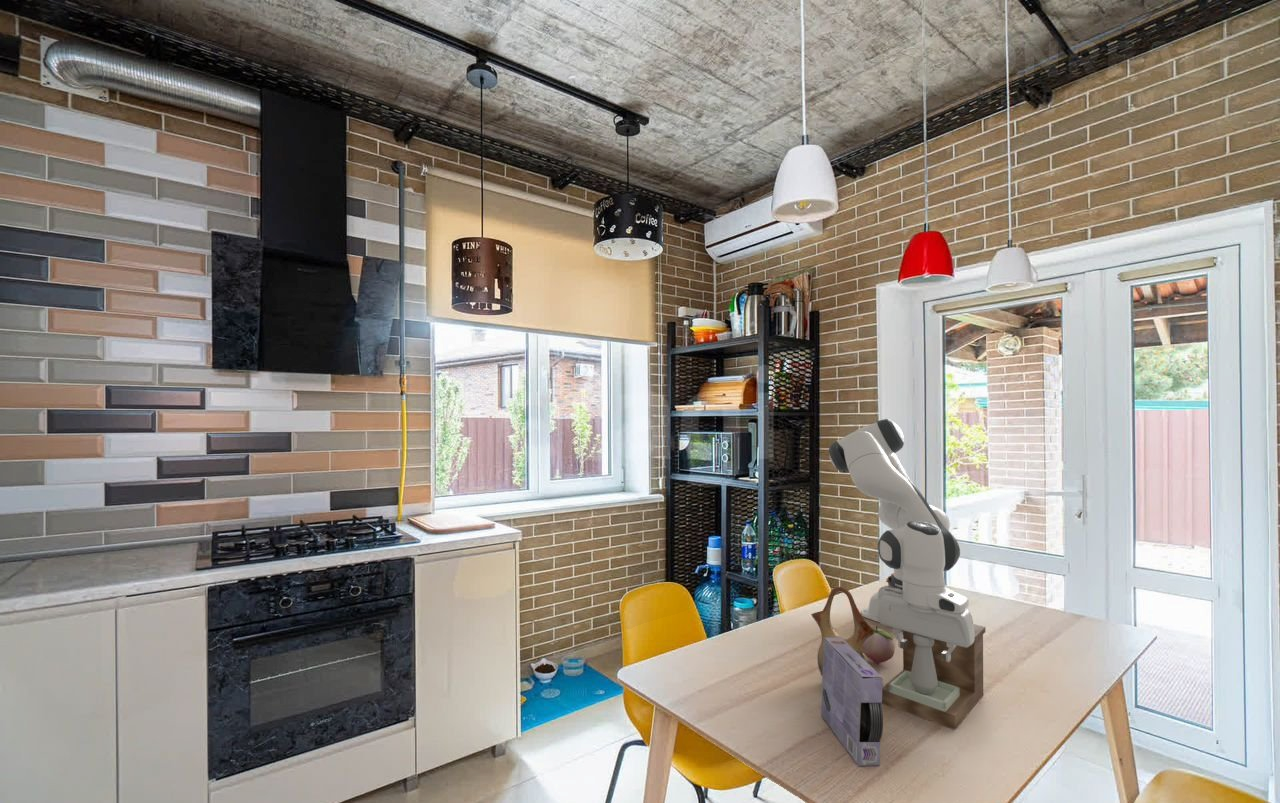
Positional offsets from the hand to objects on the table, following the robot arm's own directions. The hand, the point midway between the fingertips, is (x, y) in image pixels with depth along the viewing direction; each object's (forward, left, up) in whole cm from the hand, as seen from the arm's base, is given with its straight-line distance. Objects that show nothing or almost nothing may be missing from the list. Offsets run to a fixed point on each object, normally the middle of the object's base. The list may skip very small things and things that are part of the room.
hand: (923, 654), depth 130 cm
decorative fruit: (-17, +15, -12) cm, 26 cm away
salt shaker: (0, 0, -9) cm, 9 cm away
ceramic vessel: (-17, -6, -12) cm, 22 cm away
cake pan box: (-6, -25, -12) cm, 29 cm away
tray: (0, 0, -9) cm, 9 cm away
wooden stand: (0, +6, -12) cm, 13 cm away
